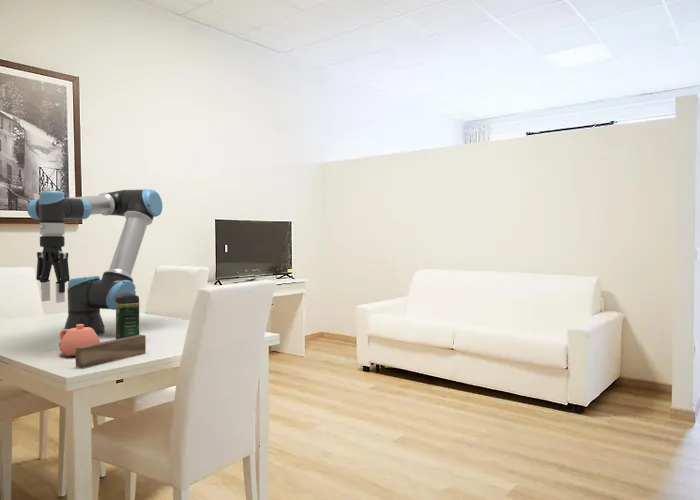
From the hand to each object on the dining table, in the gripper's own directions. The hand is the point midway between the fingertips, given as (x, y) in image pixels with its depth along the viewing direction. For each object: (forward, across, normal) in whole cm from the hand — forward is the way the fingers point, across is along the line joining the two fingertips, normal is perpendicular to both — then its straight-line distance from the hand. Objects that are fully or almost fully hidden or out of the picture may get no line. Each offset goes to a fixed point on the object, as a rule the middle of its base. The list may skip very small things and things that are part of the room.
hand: (53, 301), depth 187 cm
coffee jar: (+17, +11, +22) cm, 30 cm away
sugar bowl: (+17, +13, 0) cm, 22 cm away
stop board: (+17, +30, 0) cm, 35 cm away
